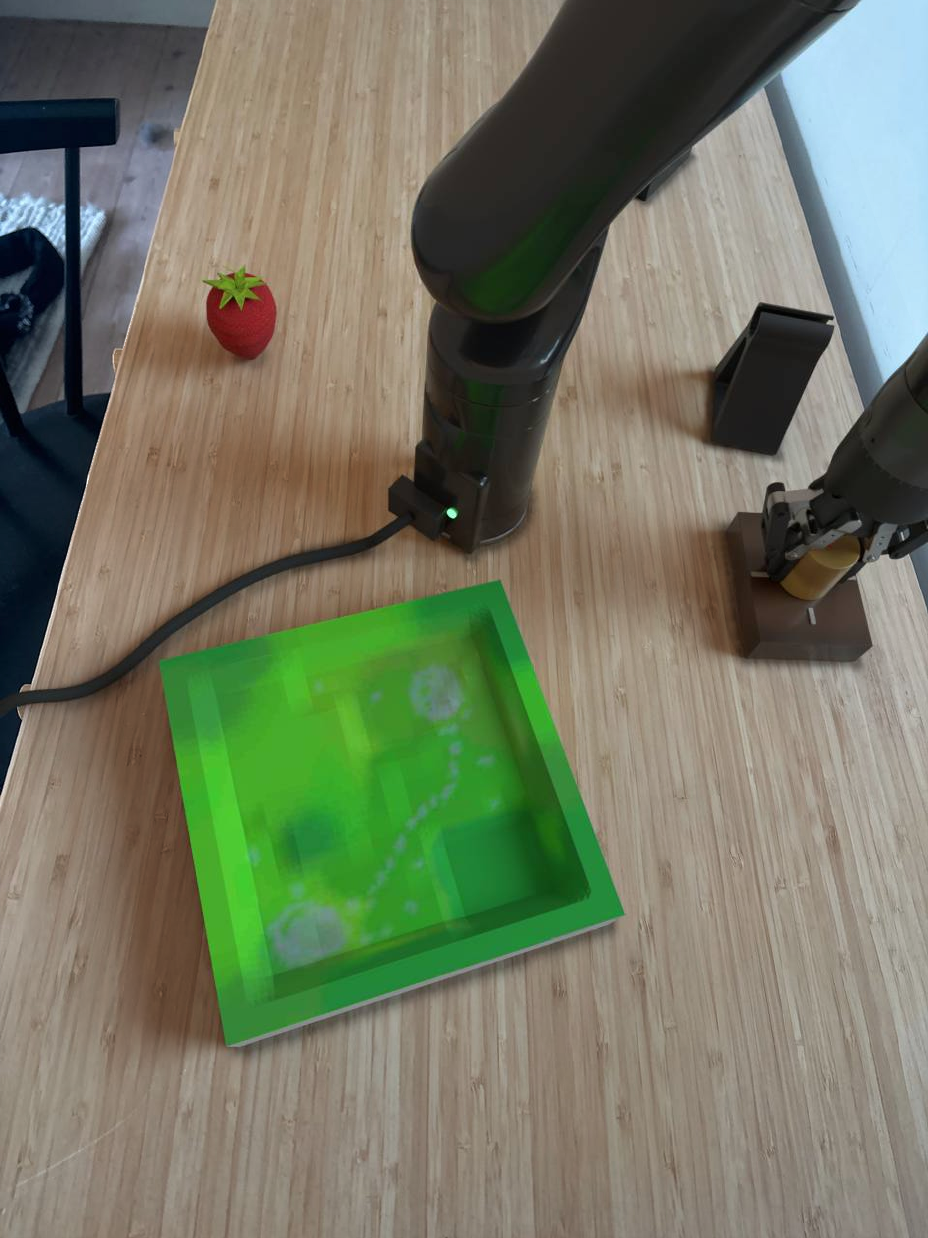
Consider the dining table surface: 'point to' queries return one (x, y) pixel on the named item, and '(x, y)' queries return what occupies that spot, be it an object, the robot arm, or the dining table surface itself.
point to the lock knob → (822, 568)
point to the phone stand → (766, 376)
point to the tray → (377, 808)
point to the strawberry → (241, 313)
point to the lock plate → (791, 607)
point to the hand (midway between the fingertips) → (804, 572)
